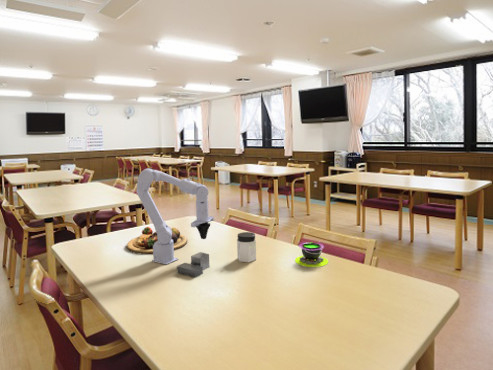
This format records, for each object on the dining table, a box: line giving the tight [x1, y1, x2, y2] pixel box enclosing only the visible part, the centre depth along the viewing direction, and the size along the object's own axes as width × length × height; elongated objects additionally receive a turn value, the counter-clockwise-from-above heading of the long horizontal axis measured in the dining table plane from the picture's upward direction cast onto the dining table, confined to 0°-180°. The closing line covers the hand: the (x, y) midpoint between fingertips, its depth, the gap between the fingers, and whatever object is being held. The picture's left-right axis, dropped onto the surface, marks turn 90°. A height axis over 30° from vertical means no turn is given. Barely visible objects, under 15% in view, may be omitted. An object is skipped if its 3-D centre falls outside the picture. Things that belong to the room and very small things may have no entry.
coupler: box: [176, 262, 204, 278], centre depth 151 cm, size 10×14×3 cm
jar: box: [236, 231, 257, 263], centre depth 162 cm, size 9×8×12 cm
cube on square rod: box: [190, 251, 210, 271], centre depth 152 cm, size 5×6×6 cm
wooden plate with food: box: [126, 226, 188, 255], centre depth 188 cm, size 32×32×8 cm
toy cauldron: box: [294, 241, 329, 268], centre depth 157 cm, size 15×15×11 cm
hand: (203, 238), depth 165 cm, fingers closed
